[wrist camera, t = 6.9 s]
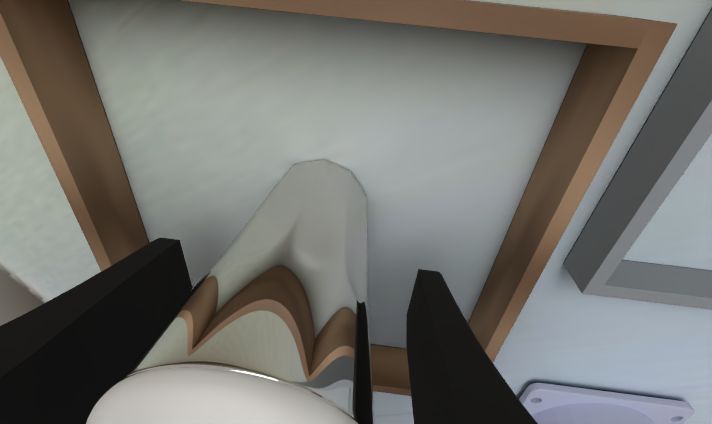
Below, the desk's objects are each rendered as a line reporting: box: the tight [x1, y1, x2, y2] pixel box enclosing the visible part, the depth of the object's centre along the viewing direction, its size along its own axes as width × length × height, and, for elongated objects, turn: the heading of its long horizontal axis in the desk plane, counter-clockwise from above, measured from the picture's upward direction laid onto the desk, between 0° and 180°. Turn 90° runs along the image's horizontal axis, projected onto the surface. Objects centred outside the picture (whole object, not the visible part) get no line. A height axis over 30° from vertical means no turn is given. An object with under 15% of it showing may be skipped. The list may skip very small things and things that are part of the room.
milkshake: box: [86, 159, 375, 424], centre depth 8 cm, size 5×5×10 cm
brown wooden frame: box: [0, 0, 677, 396], centre depth 12 cm, size 15×15×2 cm
